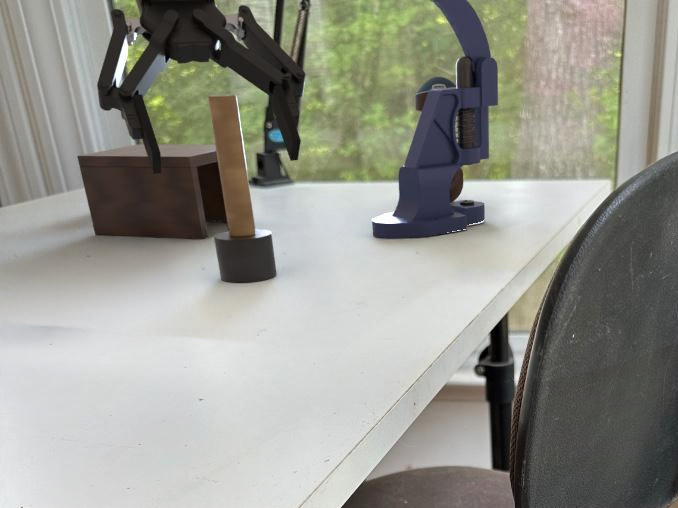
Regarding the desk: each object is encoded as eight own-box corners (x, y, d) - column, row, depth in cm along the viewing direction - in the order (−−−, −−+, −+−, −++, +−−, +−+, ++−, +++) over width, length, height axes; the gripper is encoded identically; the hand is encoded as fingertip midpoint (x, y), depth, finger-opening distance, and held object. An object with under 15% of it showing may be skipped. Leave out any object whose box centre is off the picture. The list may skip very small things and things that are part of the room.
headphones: (419, 183, 134) (419, 225, 117) (414, 66, 125) (413, 93, 107) (461, 181, 134) (466, 224, 117) (459, 65, 125) (465, 92, 107)
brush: (210, 281, 89) (178, 98, 81) (239, 268, 94) (212, 93, 85) (258, 284, 88) (231, 97, 79) (286, 271, 92) (264, 92, 84)
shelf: (95, 234, 113) (76, 155, 108) (152, 217, 123) (138, 144, 118) (203, 239, 108) (188, 156, 103) (254, 221, 118) (243, 144, 113)
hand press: (469, 214, 117) (464, -51, 102) (511, 222, 111) (512, -58, 96) (343, 234, 108) (317, -53, 93) (380, 244, 102) (359, -61, 87)
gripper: (30, -56, 83) (90, 139, 79) (291, -58, 91) (355, 117, 88) (42, 14, 90) (98, 196, 86) (283, 6, 98) (343, 171, 94)
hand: (228, 157), depth 87 cm, fingers open, 13 cm apart
